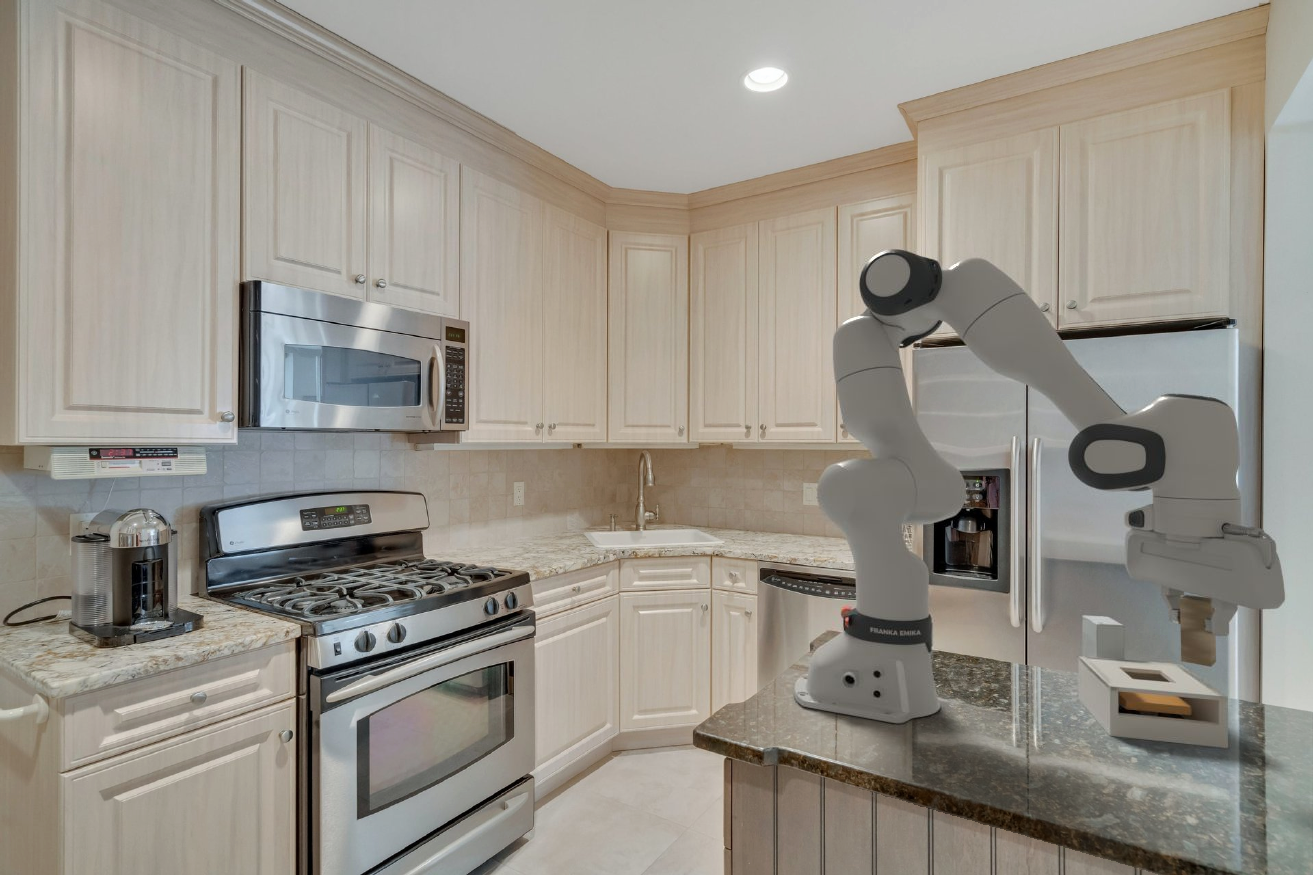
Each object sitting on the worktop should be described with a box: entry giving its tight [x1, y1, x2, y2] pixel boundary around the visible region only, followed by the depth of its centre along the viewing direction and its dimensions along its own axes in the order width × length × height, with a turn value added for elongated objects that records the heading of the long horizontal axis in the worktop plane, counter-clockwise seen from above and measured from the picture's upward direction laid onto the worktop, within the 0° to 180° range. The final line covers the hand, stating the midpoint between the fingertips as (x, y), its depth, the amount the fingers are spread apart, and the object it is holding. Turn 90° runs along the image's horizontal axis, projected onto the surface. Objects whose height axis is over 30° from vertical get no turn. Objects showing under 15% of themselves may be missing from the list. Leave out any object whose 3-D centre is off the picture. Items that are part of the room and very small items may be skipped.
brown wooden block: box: [1180, 594, 1217, 667], centre depth 87 cm, size 3×3×8 cm
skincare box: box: [1081, 615, 1125, 660], centre depth 113 cm, size 6×4×12 cm
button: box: [1118, 691, 1191, 717], centre depth 101 cm, size 8×8×3 cm
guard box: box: [1077, 655, 1229, 749], centre depth 101 cm, size 14×14×7 cm
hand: (1197, 628), depth 87 cm, fingers closed on brown wooden block, 4 cm apart
